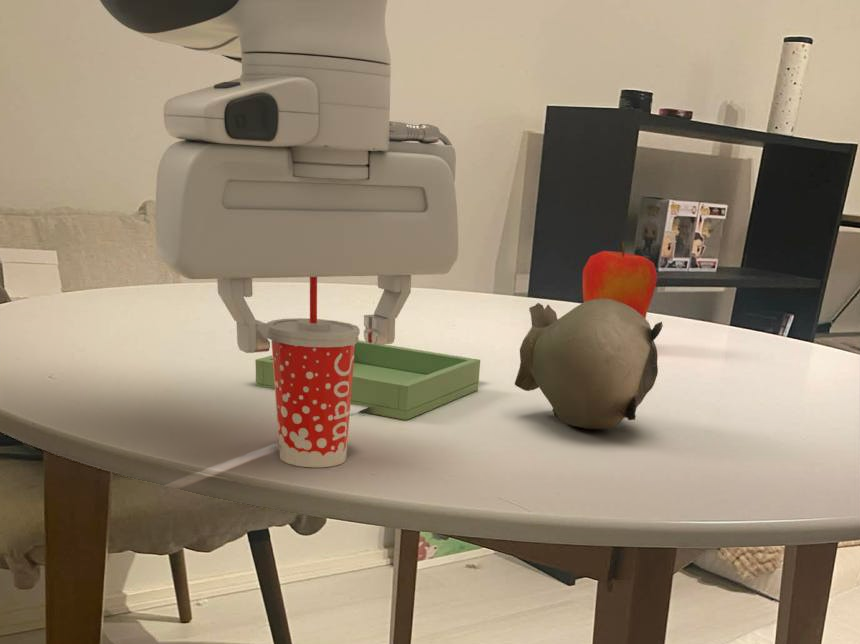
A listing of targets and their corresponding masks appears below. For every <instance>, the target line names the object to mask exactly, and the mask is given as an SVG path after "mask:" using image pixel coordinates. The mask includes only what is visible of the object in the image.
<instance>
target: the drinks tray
mask: <svg viewBox="0 0 860 644" xmlns="http://www.w3.org/2000/svg"><path fill="white" fill-rule="evenodd" d="M480 368H481V359H479V358H471V357H466V356H458V355H453V354H452V355H451V354H447V353H440V352H434V351H428V350H422V349H416V348H411V347H403V346H397V345H392V344H379V345H374V344H372V343H368V342H366V341H365V340H360V339H359V342H358V343H356V344H355V352H354V365H353V377H352V390H351V402H350V404H355V405H360V406H366V408H363V409H361V410H359V411H358V412H360V413H366V414H369V415H370V414H371V415H375V416H380V417H388V418H392V419H397V420H403V421H409V420H410V419H413V418H415V417H417V416H420V415H422V414H424V413H427V412H429V411H432V410H433V409H436V408H438V407H439V408H440V407H441V406H443V405H446V404H448V403H451V402H453V401H455V400H457V399H460V398H462V397H465V396H467V395H469V394H471V393H475V392H477V391H478V390H479V382H480V370H481V369H480ZM255 383H256V384H255V386H256V387H262V388H268V389H273V390H275V382H274V369H273V355H268V356H265V357H261V358H255Z"/></svg>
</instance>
